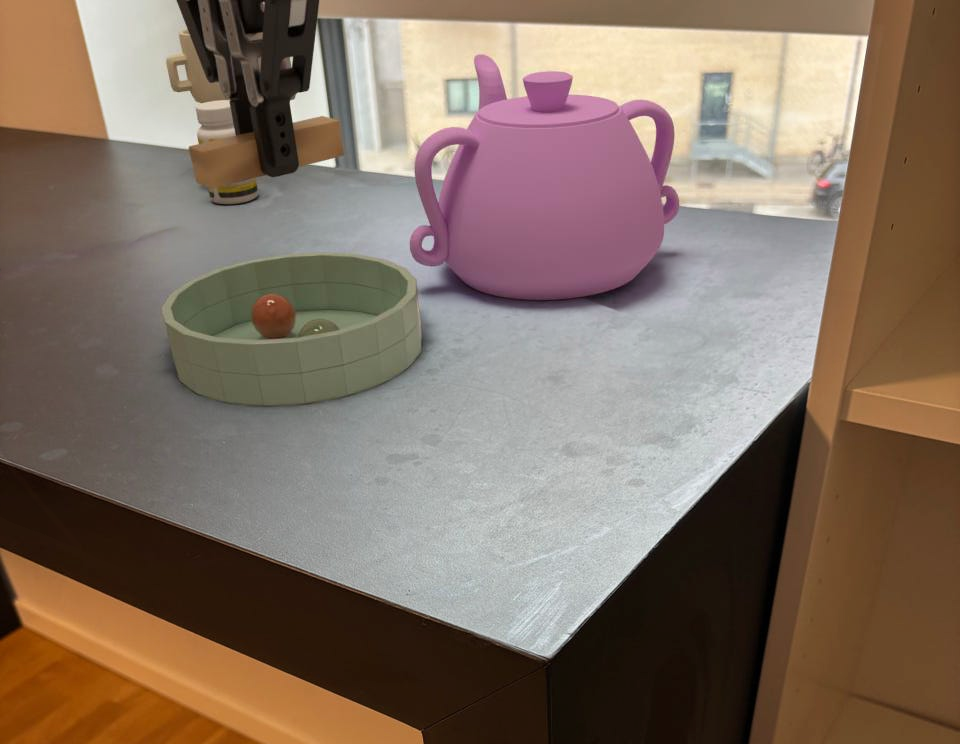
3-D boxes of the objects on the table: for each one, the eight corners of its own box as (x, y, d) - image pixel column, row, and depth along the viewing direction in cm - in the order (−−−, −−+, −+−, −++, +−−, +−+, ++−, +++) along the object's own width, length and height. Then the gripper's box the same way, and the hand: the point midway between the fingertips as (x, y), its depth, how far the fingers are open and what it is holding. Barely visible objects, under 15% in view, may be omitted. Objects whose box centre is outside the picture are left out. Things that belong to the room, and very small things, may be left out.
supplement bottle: (268, 194, 101) (252, 100, 95) (235, 207, 98) (217, 111, 92) (234, 189, 103) (216, 97, 98) (200, 202, 100) (180, 107, 95)
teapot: (596, 210, 91) (599, 33, 83) (732, 283, 75) (755, 72, 67) (363, 252, 85) (341, 65, 77) (458, 340, 69) (443, 117, 61)
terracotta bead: (268, 350, 68) (260, 306, 66) (247, 338, 70) (239, 294, 68) (307, 338, 69) (300, 294, 67) (286, 326, 71) (278, 283, 69)
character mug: (274, 153, 114) (253, 19, 106) (297, 165, 110) (276, 26, 101) (180, 169, 111) (150, 32, 103) (200, 183, 106) (170, 39, 98)
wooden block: (211, 189, 58) (202, 151, 57) (196, 183, 59) (187, 146, 58) (344, 156, 62) (339, 120, 61) (328, 150, 63) (322, 115, 62)
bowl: (248, 440, 59) (233, 367, 56) (140, 358, 69) (122, 293, 67) (470, 361, 66) (466, 293, 64) (342, 298, 77) (334, 237, 74)
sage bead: (316, 379, 64) (309, 333, 62) (292, 365, 66) (285, 320, 64) (356, 366, 65) (350, 320, 63) (332, 352, 67) (326, 308, 65)
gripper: (83, -196, 53) (165, 163, 63) (197, -216, 44) (269, 206, 54) (215, -201, 56) (271, 141, 67) (345, -220, 47) (386, 177, 58)
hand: (270, 168), depth 60 cm, fingers closed on wooden block, 2 cm apart
